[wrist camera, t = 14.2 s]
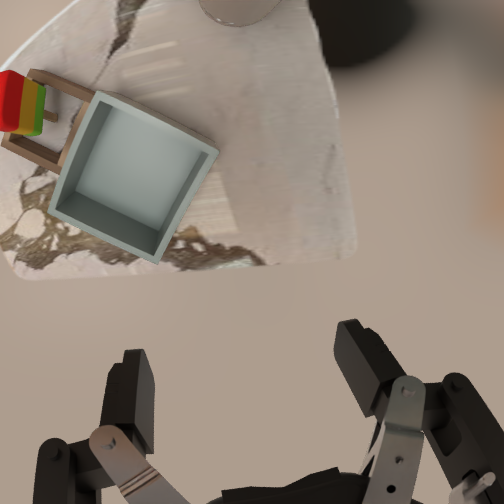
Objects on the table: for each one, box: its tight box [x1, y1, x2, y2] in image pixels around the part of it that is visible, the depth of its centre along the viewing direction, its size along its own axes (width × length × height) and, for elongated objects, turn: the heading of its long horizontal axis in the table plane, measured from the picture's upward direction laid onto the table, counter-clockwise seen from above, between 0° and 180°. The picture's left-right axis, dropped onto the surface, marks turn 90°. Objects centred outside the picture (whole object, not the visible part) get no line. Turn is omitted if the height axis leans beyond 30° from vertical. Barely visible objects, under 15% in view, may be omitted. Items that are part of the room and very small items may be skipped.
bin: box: [47, 90, 220, 265], centre depth 33 cm, size 14×14×8 cm
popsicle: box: [0, 70, 58, 136], centre depth 24 cm, size 6×15×2 cm
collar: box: [1, 69, 96, 175], centre depth 29 cm, size 10×10×4 cm
